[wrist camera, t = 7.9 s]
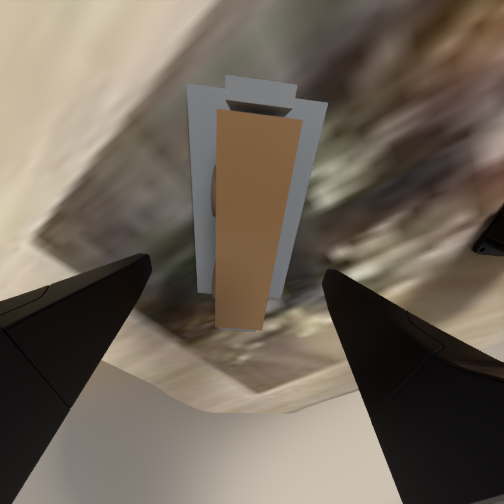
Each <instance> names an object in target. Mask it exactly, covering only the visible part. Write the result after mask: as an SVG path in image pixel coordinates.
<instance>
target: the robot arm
mask: <svg viewBox="0 0 504 504" xmlns="http://www.w3.org/2000/svg"><path fill="white" fill-rule="evenodd" d="M472 251H473V252H475V253H477V254H483V255H494V256H504V209H503V211H502V212H501V213H500V214H499V216H498V217H497V218H496V219H495V221H494V222H493V223H492V224H491V226H490V227H489V228H488V230H487V231H486V232H485V233H484V235H483V236H482V237H481V238H480V240H479V241H478V242H477V244H476V245H475V246H474V247H473V249H472ZM151 272H152V266H151V261H150V256H149V255H148V254H142V253H139V254H136V255H133V256H130V257H127V258H125V259H122V260H119V261H116V262H113V263H110V264H107V265H105V266H102V267H99V268H96V269H93V270H90V271H87V272H85V273H82V274H79V275H76V276H73V277H70V278H68V279H65V280H62V281H59V282H56V283H53V284H51V285H50V286H49V285H47V286H45V287H42V288H39V289H36V290H33V291H30V292H27V293H24V294H21V295H18V296H15V297H12V298H9V299H6V300H3V301H0V504H12V503H13V501H14V500H15V498H16V496H17V495H18V493H19V491H20V490H21V488H22V487H23V485H24V483H25V482H26V480H27V479H28V477H29V475H30V474H31V472H32V471H33V469H34V467H35V466H36V464H37V463H38V461H39V459H40V457H41V456H42V454H43V453H44V451H45V450H46V448H47V446H48V445H49V443H50V442H51V440H52V438H53V437H54V435H55V434H56V432H57V430H58V429H59V427H60V426H61V424H62V422H63V421H64V419H65V417H66V416H67V414H68V412H69V411H70V408H71V407H72V406H73V404H74V403H75V401H76V399H77V398H78V396H79V394H80V393H81V391H82V390H83V388H84V387H85V385H86V383H87V382H88V380H89V379H90V377H91V375H92V374H93V372H94V370H95V369H96V367H97V366H98V364H99V362H100V361H101V359H102V358H103V356H104V354H105V353H106V351H107V350H108V348H109V346H110V345H111V343H112V341H113V340H114V338H115V337H116V335H117V333H118V332H119V330H120V329H121V327H122V325H123V324H124V322H125V321H126V319H127V317H128V316H129V314H130V313H131V311H132V309H133V308H134V306H135V304H136V303H137V301H138V299H139V298H140V296H141V294H142V292H143V289H144V287H145V285H146V283H147V281H148V279H149V277H150V275H151ZM322 287H323V291H324V295H325V299H326V302H327V306H328V310H329V313H330V316H331V318H332V321H333V323H334V326H335V329H336V331H337V334H338V336H339V339H340V342H341V344H342V347H343V349H344V352H345V355H346V357H347V360H348V362H349V365H350V368H351V370H352V373H353V375H354V378H355V381H356V383H357V386H358V388H359V391H360V393H361V396H362V399H363V401H364V404H365V406H366V409H367V411H368V414H369V417H370V418H371V422H372V425H373V427H374V430H375V433H376V435H377V438H378V441H379V443H380V446H381V448H382V451H383V454H384V456H385V459H386V461H387V464H388V466H389V469H390V471H391V474H392V477H393V479H394V482H395V485H396V487H397V490H398V492H399V495H400V498H401V500H402V503H403V504H504V362H501V361H499V360H497V359H495V358H493V357H491V356H489V355H487V354H485V353H483V352H481V351H479V350H478V349H476V348H474V347H472V346H470V345H468V344H466V343H464V342H463V341H461V340H459V339H457V338H455V337H453V336H451V335H449V334H447V333H446V332H444V331H442V330H440V329H438V328H436V327H434V326H433V325H431V324H429V323H427V322H425V321H424V320H422V319H420V318H418V317H417V316H415V315H413V314H411V313H410V312H408V311H405V310H404V309H403V308H401V307H399V306H398V305H396V304H394V303H392V302H391V301H389V300H387V299H386V298H384V297H382V296H380V295H379V294H377V293H375V292H374V291H372V290H370V289H368V288H367V287H365V286H363V285H362V284H360V283H358V282H356V281H355V280H353V279H351V278H350V277H348V276H346V275H344V274H343V273H341V272H339V271H337V270H335V269H328V270H327V271H326V273H325V276H324V279H323V281H322Z"/></svg>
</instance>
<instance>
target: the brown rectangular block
mask: <svg viewBox="0 0 504 504" xmlns="http://www.w3.org/2000/svg"><path fill="white" fill-rule="evenodd" d="M302 122H303V120H299V119H292V118H284V117H276V116H269V115H261V114H253V113H246V112H238V111H230V110H223V109H217V135H216V164H215V166H214V169H213V174H212V183H211V209H212V215H213V217H216V261H215V264H214V269H213V276H212V298H215V327H217V328H233V329H249V330H262V326H263V321H264V316H265V311H266V306H267V301H268V296H269V291H270V286H271V281H272V275H273V270H274V265H275V260H276V255H277V250H278V245H279V240H280V235H281V229H282V224H283V219H284V214H285V209H286V204H287V199H288V194H289V189H290V184H291V178H292V173H293V168H294V163H295V158H296V153H297V148H298V143H299V138H300V133H301V127H302Z"/></svg>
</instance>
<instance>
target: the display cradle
mask: <svg viewBox="0 0 504 504" xmlns="http://www.w3.org/2000/svg"><path fill="white" fill-rule="evenodd" d="M296 89H297V85H294V84H287V83H280V82H273V81H266V80H259V79H252V78H245V77H238V76H231V75H226V82H225V89H224V88H216V87H209V86H202V85H195V84H187V99H188V118H189V137H190V155H191V174H192V193H193V212H194V230H195V249H196V268H197V287H198V293H208V294H212V276H213V269H214V264H215V261H216V217H213V215H212V209H211V183H212V174H213V169H214V166H215V164H216V135H217V109H223V110H230V111H238V112H246V113H253V114H261V115H269V116H276V117H284V118H292V119H299V120H303V122H302V127H301V133H300V138H299V143H298V148H297V153H296V158H295V163H294V168H293V173H292V178H291V184H290V189H289V194H288V199H287V204H286V209H285V214H284V219H283V224H282V229H281V235H280V240H279V245H278V250H277V255H276V260H275V265H274V270H273V275H272V281H271V286H270V291H269V296H268V298H275V299H281V295H282V291H283V287H284V283H285V279H286V275H287V271H288V266H289V262H290V258H291V254H292V250H293V246H294V242H295V238H296V233H297V229H298V225H299V221H300V217H301V213H302V209H303V205H304V200H305V196H306V192H307V188H308V184H309V180H310V176H311V172H312V167H313V163H314V159H315V155H316V151H317V147H318V143H319V139H320V134H321V130H322V126H323V122H324V118H325V114H326V110H327V106H328V103H325V102H318V101H310V100H303V99H296V98H295V95H296ZM219 329H222V330H238V331H254V332H255V330H249V329H233V328H219Z"/></svg>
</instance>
